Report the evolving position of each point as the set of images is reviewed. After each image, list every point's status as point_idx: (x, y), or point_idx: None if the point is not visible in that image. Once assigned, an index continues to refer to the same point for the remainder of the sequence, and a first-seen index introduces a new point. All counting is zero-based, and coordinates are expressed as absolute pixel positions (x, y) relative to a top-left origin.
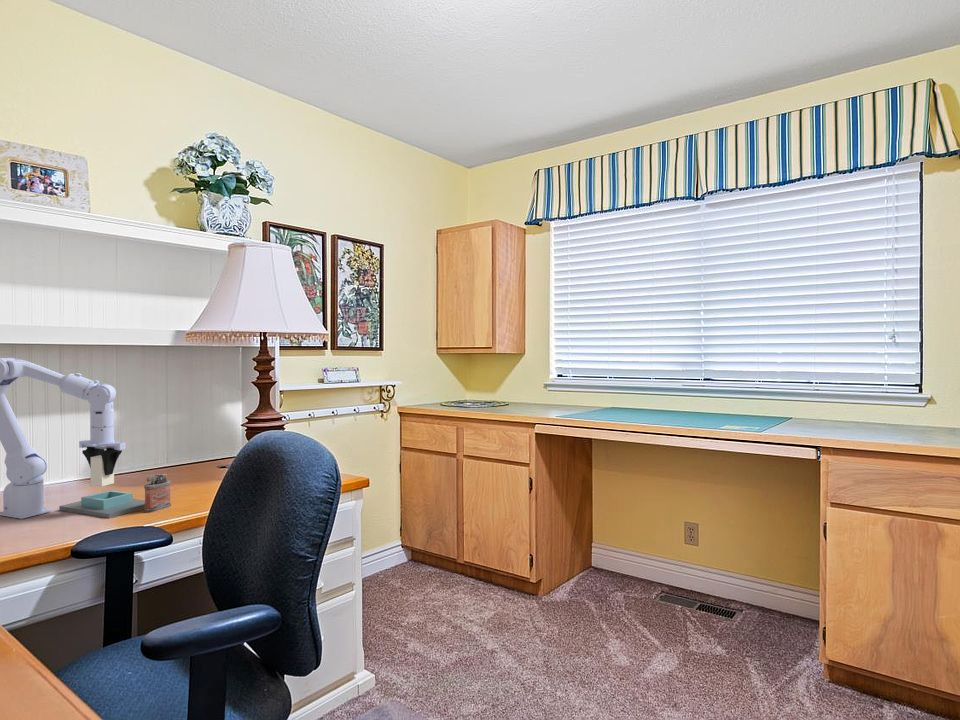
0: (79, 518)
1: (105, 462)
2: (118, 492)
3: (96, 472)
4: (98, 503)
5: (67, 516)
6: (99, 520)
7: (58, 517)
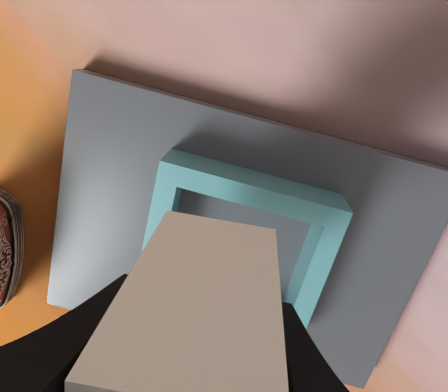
0: (234, 41)
1: (47, 335)
2: None
3: (206, 274)
4: (206, 166)
5: (329, 67)
6: (100, 22)
7: (366, 40)
